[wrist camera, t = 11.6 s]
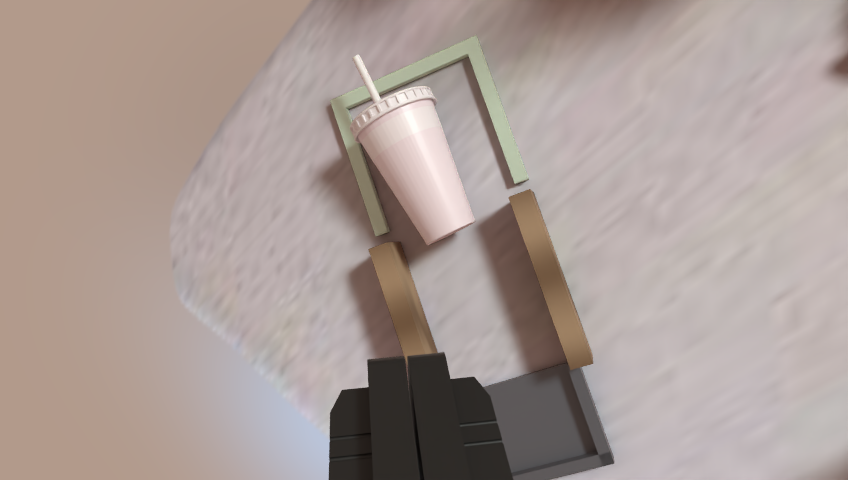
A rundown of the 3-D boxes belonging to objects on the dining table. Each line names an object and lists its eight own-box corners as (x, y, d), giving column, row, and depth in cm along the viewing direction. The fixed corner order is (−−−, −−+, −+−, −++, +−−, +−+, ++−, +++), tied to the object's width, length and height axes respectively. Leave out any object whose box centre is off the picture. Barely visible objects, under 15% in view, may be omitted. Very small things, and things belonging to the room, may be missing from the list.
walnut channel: (592, 355, 42) (593, 363, 39) (433, 401, 45) (423, 412, 42) (533, 192, 43) (529, 189, 40) (382, 248, 46) (368, 249, 43)
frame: (528, 179, 43) (528, 178, 42) (378, 236, 46) (375, 236, 45) (477, 37, 44) (476, 35, 43) (333, 102, 47) (329, 100, 46)
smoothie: (401, 259, 44) (318, 88, 44) (475, 224, 46) (394, 61, 46) (422, 244, 38) (325, 46, 38) (507, 204, 39) (413, 16, 40)
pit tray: (613, 457, 41) (614, 463, 40) (477, 491, 44) (474, 497, 43) (578, 359, 42) (578, 362, 41) (446, 398, 44) (442, 402, 43)
